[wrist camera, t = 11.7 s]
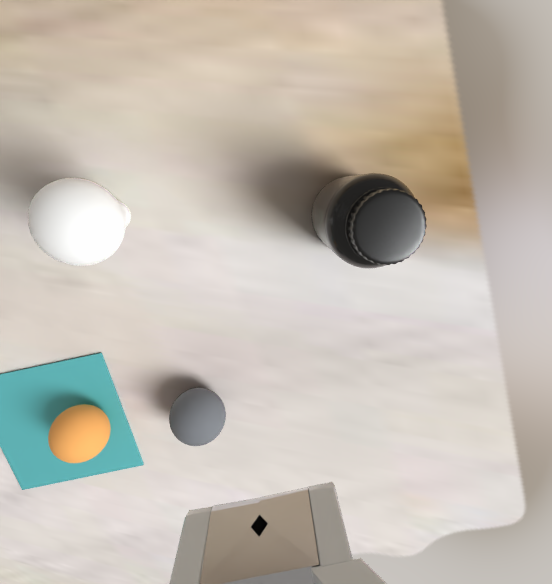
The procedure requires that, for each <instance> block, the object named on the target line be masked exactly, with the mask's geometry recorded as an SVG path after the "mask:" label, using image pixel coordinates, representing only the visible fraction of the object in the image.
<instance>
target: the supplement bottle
mask: <svg viewBox="0 0 552 584" xmlns="http://www.w3.org/2000/svg"><path fill="white" fill-rule="evenodd" d="M312 223H313V227H314V229H315V232H316V234H317V235H318V237H319V238H320V239H321V241H322V242H323V243H324V244H325V245H326V246H328V247H329V248H330V249H331V250H332V251H333V252H334V253H335V254H336V255H337V256H339V257H340V258H341V259H342V260H344V261H345V262H347V263H349V264H351V265H353V266H357V267H361V268H377V267H382V266H385V265H390V264H396V263H397V262H402V261H403V260H404V259H406V258H409V256H410V255H411V254H413V253H414V252H415V250H416V249H418V248H419V246H420V243H421V242H422V241H423V237H424V235H425V229H426V217H425V212H424V210H423V209H422V205H421V204H419V203H418V200H417V199H415V198H414V196H413V194H412V192H411V191H410V190H409V188H408V187H407V186H406V185H405V184H404V183H402V182H401V181H399V180H398V179H396V178H394V177H392V176H389V175H385V174H378V173H371V174H361V175H352V176H345V177H341V178H338V179H335V180H333V181H331V182H330V183H328V184H327V185H326V186H325V187H324V188H323V189H322V190H321V191H320V192H319V194H318V195H317V197H316V199H315V201H314V204H313V208H312Z"/></svg>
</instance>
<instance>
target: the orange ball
mask: <svg viewBox="0 0 552 584" xmlns="http://www.w3.org/2000/svg"><path fill="white" fill-rule="evenodd" d="M110 430H111V427H110V422H109V419H108V417H107V415H106V414H105V413H104V412H103V411H102V410H101V409H100V408H98V407H96V406H93V405H88V404H81V405H76V406H72V407H70V408H68V409H66V410H65V411H63V412H62V413H61V414H60V415H59V416H58V417H57V418H56V419H55V420H54V422H53V423H52V425H51V427H50V430H49V435H48V443H49V447H50V449H51V451H52V453H53V454H54V455H55V456H56V457H57V458H58V459H60V460H62V461H64V462H67V463H81V462H85V461H88V460H90V459H92V458H93V457H95V456H96V455H98V454H99V453H100V452H101V451H102V450H103V448H104V447H105V446H106V444H107V442H108V440H109V437H110Z"/></svg>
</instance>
